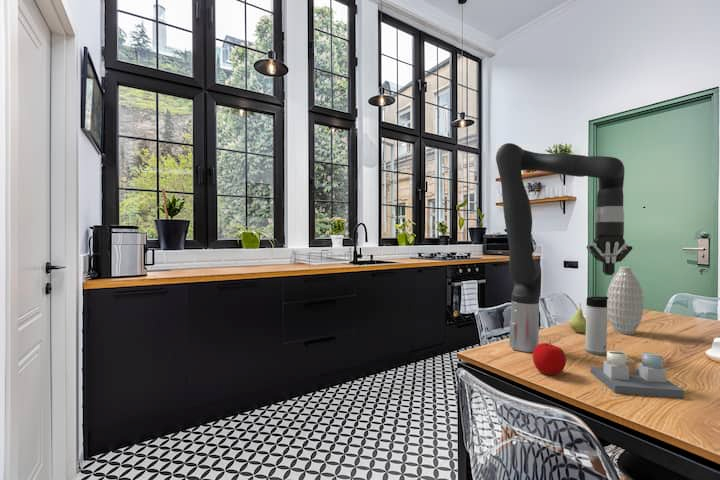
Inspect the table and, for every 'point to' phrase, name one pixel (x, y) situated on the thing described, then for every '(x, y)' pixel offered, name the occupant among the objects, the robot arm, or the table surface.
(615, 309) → the vase
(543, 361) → the fruit
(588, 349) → the travel mug
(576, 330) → the fruit
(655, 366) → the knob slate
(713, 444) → the table surface
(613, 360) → the knob ivory
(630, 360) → the trim pot
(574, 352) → the table surface
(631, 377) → the plate
